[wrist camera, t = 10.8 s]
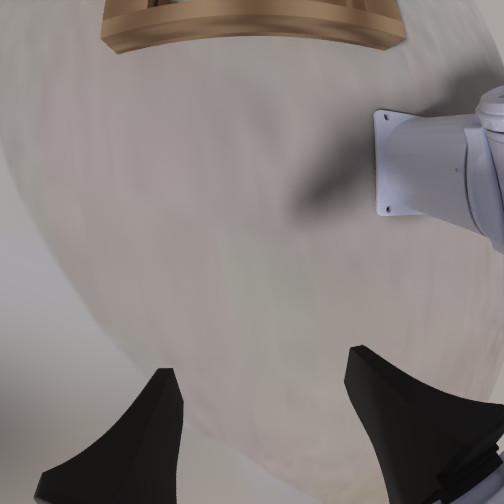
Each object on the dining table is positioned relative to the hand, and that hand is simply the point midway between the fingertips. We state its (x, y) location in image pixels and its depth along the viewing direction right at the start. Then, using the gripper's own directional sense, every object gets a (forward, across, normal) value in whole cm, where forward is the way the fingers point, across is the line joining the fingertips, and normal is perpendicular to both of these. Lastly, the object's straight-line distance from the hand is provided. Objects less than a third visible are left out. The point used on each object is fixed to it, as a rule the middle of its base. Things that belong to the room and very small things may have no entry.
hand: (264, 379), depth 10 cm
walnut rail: (+10, -2, -23) cm, 25 cm away
